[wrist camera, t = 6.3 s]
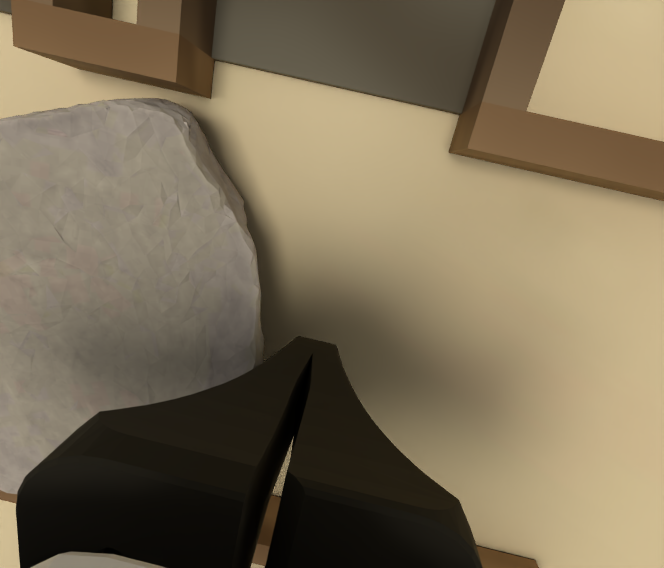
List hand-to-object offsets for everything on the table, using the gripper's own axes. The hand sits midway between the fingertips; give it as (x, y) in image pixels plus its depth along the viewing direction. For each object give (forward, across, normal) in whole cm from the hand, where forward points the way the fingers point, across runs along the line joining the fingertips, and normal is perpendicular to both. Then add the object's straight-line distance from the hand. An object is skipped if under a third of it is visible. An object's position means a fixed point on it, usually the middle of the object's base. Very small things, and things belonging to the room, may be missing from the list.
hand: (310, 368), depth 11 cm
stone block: (+2, +6, 0) cm, 7 cm away
